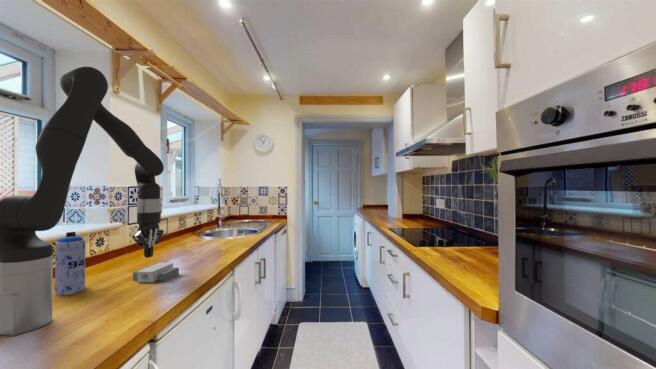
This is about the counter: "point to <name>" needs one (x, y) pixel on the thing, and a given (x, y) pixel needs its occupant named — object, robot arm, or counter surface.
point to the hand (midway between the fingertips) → (148, 257)
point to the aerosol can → (69, 264)
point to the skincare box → (153, 272)
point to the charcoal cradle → (162, 274)
